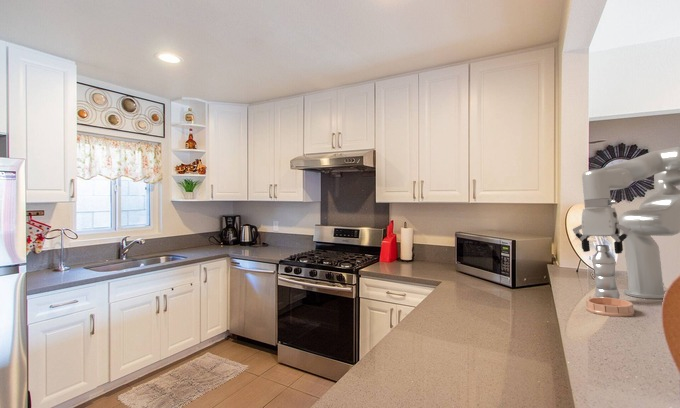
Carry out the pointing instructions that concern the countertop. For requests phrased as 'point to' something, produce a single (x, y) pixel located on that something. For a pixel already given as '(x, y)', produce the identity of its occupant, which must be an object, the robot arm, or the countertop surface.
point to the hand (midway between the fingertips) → (602, 252)
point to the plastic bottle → (605, 273)
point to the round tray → (609, 307)
